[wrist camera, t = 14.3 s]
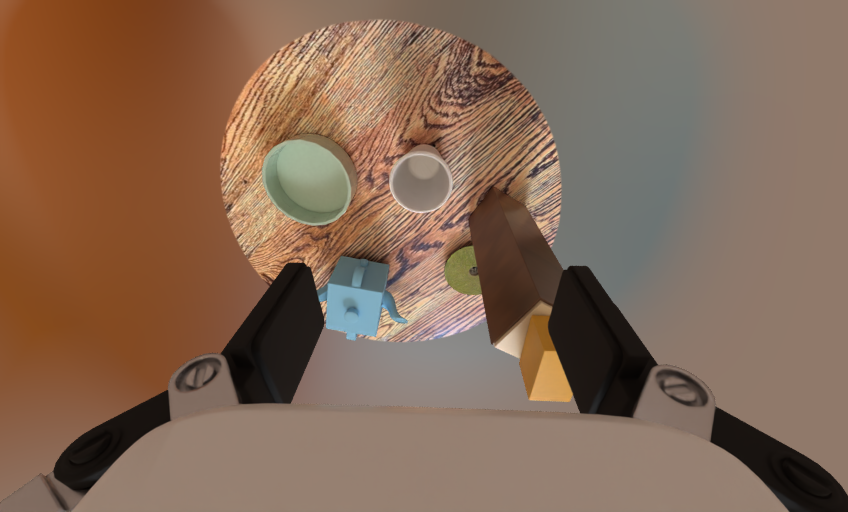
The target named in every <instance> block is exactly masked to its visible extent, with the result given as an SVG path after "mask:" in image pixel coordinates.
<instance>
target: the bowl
mask: <svg viewBox="0 0 848 512" xmlns="http://www.w3.org/2000/svg"><path fill="white" fill-rule="evenodd" d="M262 180H263V185H264V187H265V190H266V192H267V195H268V197H269V198H270V200H271V201H272V202H273V204H274V205H275V206H276V207H277V208H278V209H279V210H280V211H281V212H282V213H284V214H285V215H286V216H287V217H289V218H291V219H293V220H295V221H297V222H299V223H303V224H308V225H312V226H315V225H326V224H329V223H331V222H333V221H336V220H337V219H338V218H340V217H341V216H342V215H343V214H344V213H345V212H346V210H347V208H348V207H349V205H350V204H351V202H352V200H353V198H354V196H355V194H356V190H357V173H356V170H355V167H354V164H353V162H352V160H351V159H350V157H349V156H348V154H347V153H346V152H345V151H344V150H343V148H342V147H340V146H339V145H338V144H337V143H335V142H334V141H332V140H331V139H328V138H326V137H324V136H321V135H317V134H309V133H308V134H300V135H295V136H293V137H291V138H289V139H288V140H286V141H284V142H282V143H280V144H278V145H276V146H274V147H273V148H272V149H271V151H270V152H269V153H268V154H267V155H266V157H265V160H264V163H263V167H262Z"/></svg>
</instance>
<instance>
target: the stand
mask: <svg viewBox="0 0 848 512" xmlns="http://www.w3.org/2000/svg"><path fill="white" fill-rule="evenodd" d="M468 220H469V226H470V231H471V237H472V242H473V248H474V253H475V259H476V264H477V269H478V275H479V280H480V286H481V291H482V297H483V302H484V308H485V313H486V319H487V324H488V329H489V334H490V340H491V344H492V345H494V347H496V348H498V349H500V350H502V351H504V352H506V353H509V354H511V355H513V356H515V357H517V358H519V359H520V358H521V354H522V350H523V347H524V343H525V339H526V335H527V331H528V327H529V323H530V319H531V316H532V315H541V316H550V314H551V311H552V307H553V304H554V300H555V296H556V293H557V289H558V286H559V282H560V279H561V275H562V272H563V268H562V267H561V265H560V263H559V262H558V260H557V258H556V257H555V255H554V253H553V251H552V250H551V248H550V246H549V245H548V243H547V241H546V240H545V238H544V236H543V235H542V233H541V231H540V230H539V228H538V226H537V224H536V223H535V221H534V219H533V218H532V216H531V214H530V213H529V211H528V209H527V208H526V206H524V205H522V204H521V203H519V202H518V201H516V200H514V199H513V198H511V197H509V196H508V195H506V194H505V193H503V192H501V191H500V190H498V189H496V188H495V187H492V188H491V189H490V191H489V192H488V193H487V195H486V196H485V197H484V199H483V200H482V201H481V203H480V204H479V205H478V207H477V208H476V209H475V211H474V212H473V214H472V215H471V216H470V218H469V219H468Z"/></svg>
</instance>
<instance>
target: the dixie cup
mask: <svg viewBox="0 0 848 512" xmlns="http://www.w3.org/2000/svg"><path fill="white" fill-rule="evenodd" d="M389 185H390V190H391V193H392V195H393V197H394V198H395V200H396V201H397V202H398V203H399V204H400V205H401V206H402V207H404V208H405V209H407V210H409V211H412V212H417V213H427V212H431V211H434V210H436V209H438V208H439V207H441V206H442V205H443V204H444V203H445V202H446V201H447V200H448V198H449V196H450V194H451V191H452V187H453V178H452V173H451V171H450V168H449V167H448V165H447V164H446V162H445V161H444V160H443V159H442V157H441V155H440V153H439V152H438V150H437V149H435V148H434V147H433V146H430V145H427V144H421V145H418V146H415V147H414V148H413V149H411V150H410V151H409V152H408V153H407V154H405V155H404V156H402V157H401V158H400V159H399V160H398V161H397V162H396V163H395V164H394V166H393V168H392V170H391V173H390V178H389Z"/></svg>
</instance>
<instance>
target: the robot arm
mask: <svg viewBox="0 0 848 512" xmlns="http://www.w3.org/2000/svg"><path fill="white" fill-rule="evenodd" d="M323 327H324V316H323V313H322V309H321V305H320V301H319V297H318V294H317V290H316V286H315V282H314V279H313V275H312V271H311V268H310V267H307V266H306V264H305V263H287V264H286V265H285V267H284V268H283V269H282V271H281V272H280V273H279V275H278V276H277V278H276V279H275V280H274V282H273V283H272V284H271V286H270V287H269V288H268V290H267V291H266V292H265V294H264V295H263V297H262V298H261V299H260V301H259V302H258V303H257V305H256V306H255V307H254V309H253V310H252V311H251V313H250V314H249V316H248V317H247V318H246V320H245V321H244V322H243V324H242V325H241V327H240V328H239V329H238V330H237V332H236V333H235V335H234V336H233V337H232V339H231V340H230V341H229V343H228V344H227V346H226V347H225V348H224V350H223V351H222V352H221V354H218V353H208V354H203V355H200V356H197V357H195V358H193V359H191V360H189V361H187V362H186V363H184V364H183V365H182V366H180V367H179V368H178V369H177V370H176V371H175V373H174V374H173V375H172V377H171V379H170V381H169V385H168V390H166V391H164V392H162V393H161V394H159V395H157V396H155V397H153V398H151V399H149V400H147V401H145V402H143V403H141V404H139V405H137V406H135V407H133V408H132V409H130V410H128V411H126V412H124V413H122V414H120V415H118V416H116V417H114V418H112V419H110V420H108V421H106V422H104V423H103V424H101V425H99V426H97V427H95V428H93V429H91V430H90V431H88V432H86V433H85V434H83V435H82V436H80V437H79V438H78V439H76V440H75V441H74V442H73V443H71V444H70V446H69V447H68V448H67V449H66V450H65V451H64V452H63V453H62V454H61V456H60V457H59V459H58V460H57V462H56V464H55V467H54V470H53V471H52V472H51V473H50V474H48V475H47V476H44V475H43V474H39V475H38V476H36V477H35V478H34V479H32V480H31V481H29V482H28V483H27V484H25V485H24V486H22V487H21V488H19V489H18V490H17V491H15V492H14V493H12V494H11V495H10V496H8V497H7V498H5V499H4V500H2V501H1V502H0V512H848V495H847V494H846V492H845V491H844V489H843V488H842V486H841V485H840V484H839V483H838V482H837V481H836V480H835V479H834V477H833V476H832V475H831V474H830V473H828V472H827V471H826V470H825V469H823V468H822V467H821V466H820V465H819V464H817V463H816V462H814V461H812V460H811V459H809V458H808V457H806V456H805V455H803V454H801V453H799V452H797V451H796V450H794V449H792V448H790V447H788V446H787V445H785V444H783V443H781V442H779V441H777V440H776V439H774V438H772V437H770V436H768V435H767V434H765V433H763V432H761V431H759V430H757V429H756V428H754V427H752V426H750V425H748V424H747V423H745V422H743V421H741V420H739V419H738V418H736V417H734V416H732V415H730V414H728V413H727V412H725V411H723V410H721V409H719V408H717V407H716V406H715V405H716V404H715V397H714V395H713V394H712V391H711V390H710V389H709V387H708V386H707V385H706V384H705V383H704V382H703V381H702V380H700V379H699V378H698V377H697V376H695V375H694V374H692V373H690V372H688V371H686V370H684V369H682V368H679V367H676V366H672V365H667V364H666V365H658V364H657V363H656V361H655V360H654V358H653V357H652V356H651V354H650V353H649V351H648V350H647V348H646V347H645V346H644V344H643V343H642V341H641V340H640V339H639V337H638V336H637V334H636V333H635V332H634V330H633V329H632V327H631V326H630V324H629V323H628V321H627V320H626V319H625V317H624V316H623V314H622V313H621V311H620V310H619V309H618V307H617V306H616V305H615V304H614V303H613V302H612V300H611V299H610V297H609V296H608V294H607V293H606V292H605V290H604V289H603V287H602V286H601V284H600V283H599V282H598V280H597V279H596V277H595V276H594V274H593V273H592V272H591V270H590V269H589V268H588V267H587V266H569V267H568V269H567V270H563V272H562V275H561V279H560V282H559V286H558V289H557V293H556V296H555V300H554V304H553V307H552V311H551V314H550V318H549V321H548V332H549V335H550V337H551V340H552V342H553V345H554V347H555V350H556V352H557V355H558V358H559V360H560V363H561V365H562V368H563V370H564V373H565V375H566V378H567V381H568V383H569V386H570V388H571V391H572V393H573V396H574V398H575V401H576V404H577V406H578V409H579V411H580V413H561V412H542V411H539V412H538V411H514V410H489V409H462V408H432V407H402V406H369V405H366V406H365V405H332V404H330V405H329V404H291V401H292V399H293V396H294V394H295V392H296V390H297V387H298V385H299V383H300V381H301V378H302V376H303V373H304V371H305V369H306V367H307V364H308V362H309V360H310V357H311V355H312V353H313V350H314V348H315V346H316V343H317V341H318V339H319V336H320V334H321V332H322V329H323Z"/></svg>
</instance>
